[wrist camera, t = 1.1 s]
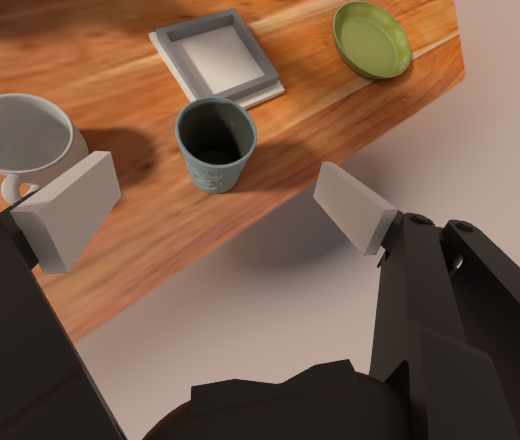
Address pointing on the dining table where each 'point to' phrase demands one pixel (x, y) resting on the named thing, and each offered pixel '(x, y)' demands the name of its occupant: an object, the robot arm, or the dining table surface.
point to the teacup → (35, 143)
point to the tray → (218, 59)
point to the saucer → (371, 40)
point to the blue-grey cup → (215, 142)
